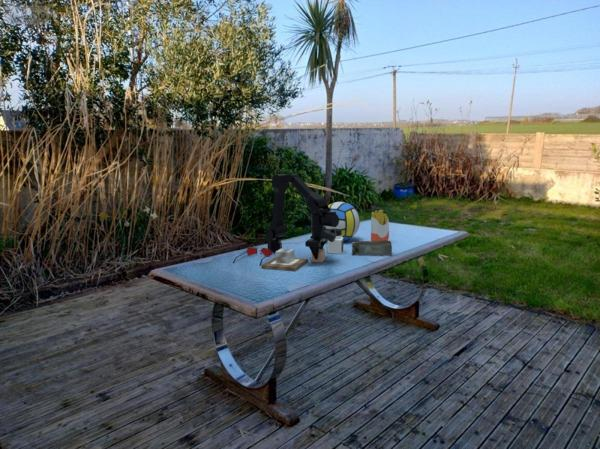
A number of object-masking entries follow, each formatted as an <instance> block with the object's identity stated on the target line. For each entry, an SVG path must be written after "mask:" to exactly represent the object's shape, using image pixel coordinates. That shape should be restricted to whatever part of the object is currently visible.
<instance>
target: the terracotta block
mask: <svg viewBox="0 0 600 449" xmlns="http://www.w3.org/2000/svg"><path fill="white" fill-rule="evenodd" d="M310 253H311V254H310V255H311V256H310V257H311V258H310V259H311V261H310V262H311V263H312V262H313V263H323V262H324V261H325V260H326V249H325V248H323V249H319V254H318V259H317V260H316V259H315V258H314V256H313V254H312V252H311V251H310Z"/></svg>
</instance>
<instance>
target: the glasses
mask: <svg viewBox="0 0 600 449" xmlns="http://www.w3.org/2000/svg"><path fill="white" fill-rule="evenodd" d="M258 249H259V247H253V246H250V247H249V246H248V247H247V248H246V251H244V252H243V253H241V254H239V255H238V256H236V257H235V258H234V260H233V262H232V263H235V261H236V260H237V259H238V258H239V257H240V256H243V255H244V254H247V256H248V255H250V256H249V257H251V256H253V255H254V256H255V255H257V254H258ZM268 249H269V248H268V247H262V248H260V252H259V254H260V255H263V256H264V257H262V258H261V259H260V263H259V266H261V265H262V263H263V262H262V261H263V260H264V259H265V258H269V257H271V256H272V255H273V254H274V253H273V252H272V251H270V250H271V249H270V250H268Z"/></svg>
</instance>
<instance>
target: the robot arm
mask: <svg viewBox="0 0 600 449" xmlns="http://www.w3.org/2000/svg"><path fill="white" fill-rule="evenodd" d="M290 184H291V185H292V186H293V187H294V188H295V189H296V191H297V192H299V194H300V195H301V196H302V197H303V198H304V199H305V202H306V206H308V208H309V209H310V211H308V212H307V215H310V216H311V217H310V218H311V226H310V227H309V228H310V229H309V230H310V231H311V235H310V237H309V238H308V239H307V240H306V241H305V243H304V245H305V247H307V248H309V250H310V253H311V252H312V254H313V256H314V258H315V259H316V260H317V259H318V254H319V249H324V247H325V245H326V244H328V240H329V241H330V242H333V241H335V238H336V236H337V234H336V230H334V229H332V230H331V231H328V230H326V227H325V226H330V227H337V226H338V224H339V217H338V215H337V214H336V212H331V210H330V209H329V207H328V205H329V204H328V203H327V201H326V200H327V199H325V197H323V196H322V195H320V194H318V193H316V192H314V191H313V190H312V189H311V188H310V187H309V185H307V184H306V182H305V181H304V180H303V179H302V178H300V175H299V174H297V173H290V174H286V173H281V174H274V175H273V176H272V178H271V186H272V190H273V191H274V197H273V208H272V209H273V211H272V221H271V222H270V223H269V225H268V229H267V233H266V234H265V235H264V237H263V238H264V241H265V242H266V243H267V248H269V249H268V250H270V249H271V250H270V251H272V252H273V253H272V254H276V251H278V250H280V249H283V243H282V240H284V236H285V234H286V233H287V224H285V223H284V221H283V220H284V219H283V217H284V208H285V197H286V196H285V195H286V194H285V193H286V192H287V190H288V189H289V185H290Z"/></svg>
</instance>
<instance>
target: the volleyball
mask: <svg viewBox="0 0 600 449" xmlns="http://www.w3.org/2000/svg"><path fill="white" fill-rule="evenodd" d="M327 205H328V207H329V209H330V210H331V212H336V214H337V215H338V217H339V224H338V226H337V227H330V226H325V227H326V230H328V231H329V230H330V229H332V228H339V229H341V230H342V237H343V242H344V241H347V240H350V239H351V238H353V237H354V236H355V235H356V234H357V232H358V230H359V228H360V225H361V224H360V223H361V222H360V221H361V219H360V215H359V212H358V211H357V209H356V208H355V207H354V205H352V204H350V203H348V202H346V201H345V202H344V201H337V202H332V203H330V204H327Z"/></svg>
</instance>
